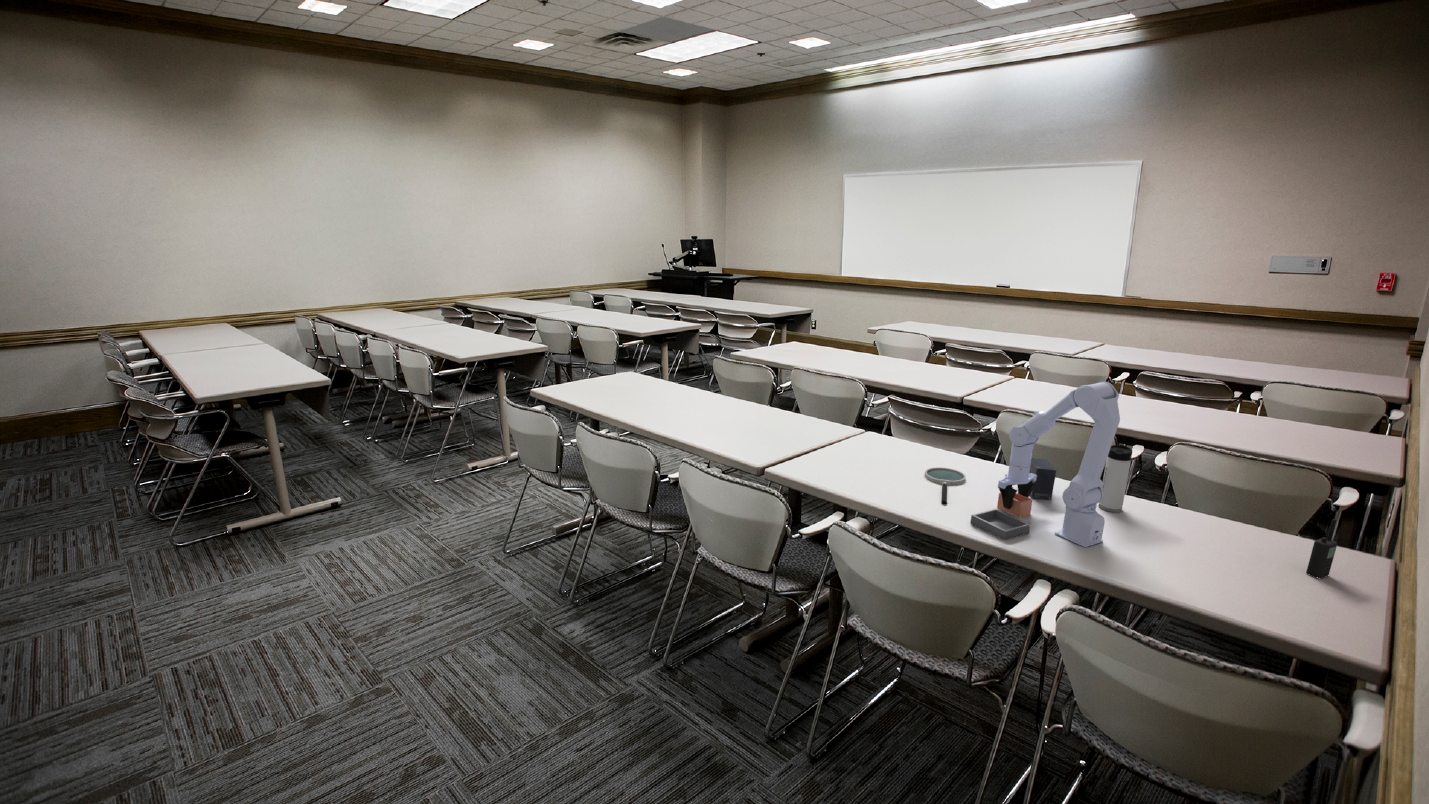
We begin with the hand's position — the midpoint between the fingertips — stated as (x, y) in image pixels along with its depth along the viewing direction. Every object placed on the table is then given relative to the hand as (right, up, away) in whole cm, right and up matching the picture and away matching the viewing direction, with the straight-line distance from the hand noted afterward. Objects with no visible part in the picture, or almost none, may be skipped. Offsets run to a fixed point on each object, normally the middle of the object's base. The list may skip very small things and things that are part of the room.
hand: (1014, 506), depth 205 cm
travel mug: (+31, -1, +3) cm, 31 cm away
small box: (+14, +2, +14) cm, 20 cm away
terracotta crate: (0, -2, 0) cm, 2 cm away
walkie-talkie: (+61, -12, -35) cm, 71 cm away
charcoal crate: (-9, -5, -11) cm, 16 cm away
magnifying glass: (-15, +3, +19) cm, 24 cm away
